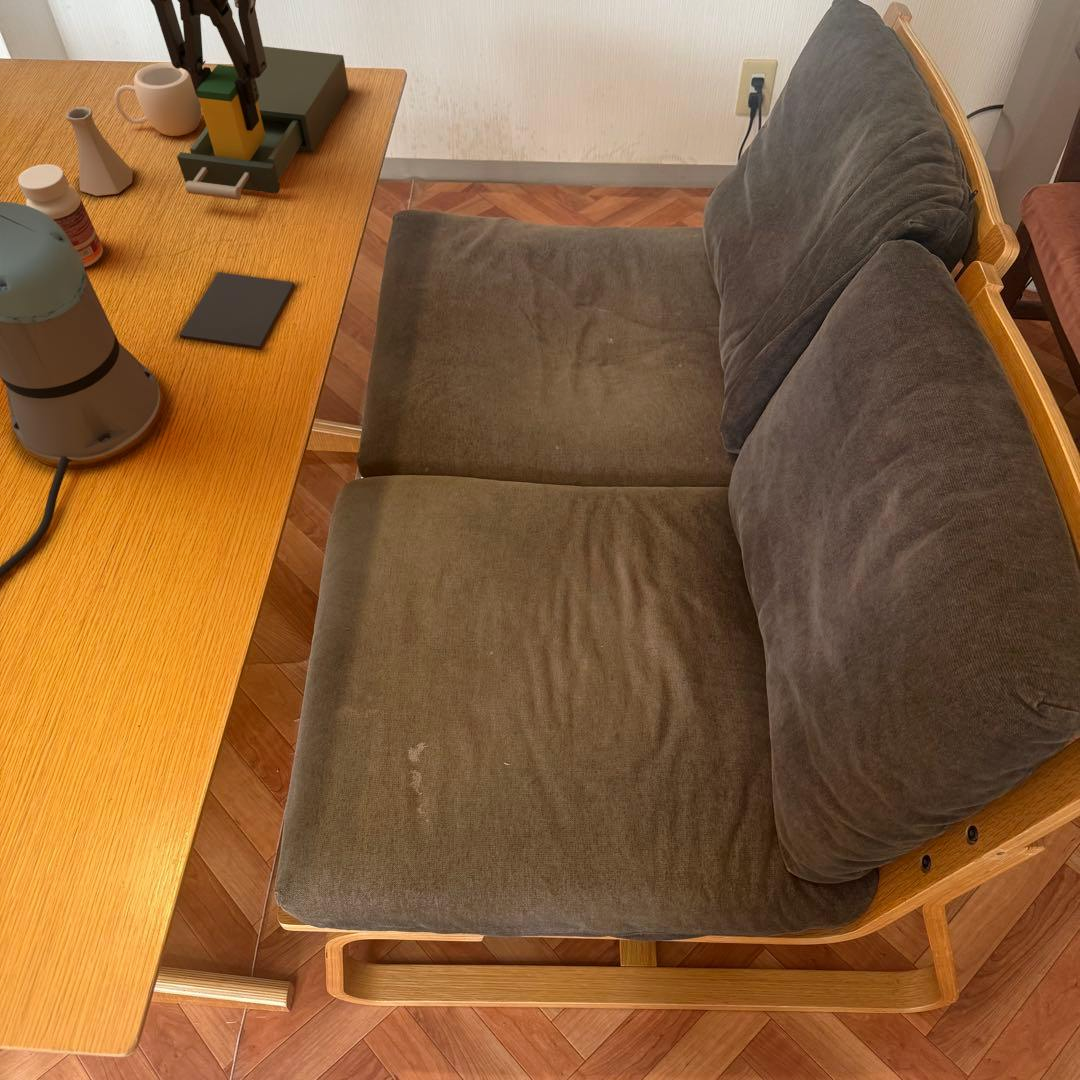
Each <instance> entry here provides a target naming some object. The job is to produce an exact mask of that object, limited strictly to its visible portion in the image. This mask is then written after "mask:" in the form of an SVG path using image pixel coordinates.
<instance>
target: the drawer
mask: <svg viewBox="0 0 1080 1080" xmlns="http://www.w3.org/2000/svg"><path fill="white" fill-rule="evenodd" d="M261 119H262V123H263V128H264V132H265V136H266V138H265V139H264V141H263V142H262V144H261V145H260V146H259V148H258V149H257V151H256V152H255V154H254V155H253V157H252V158H251V159H250V161H248V160H240V159H231V158H223V157H215V153H214V150H213V146H212V143H211V139H210V136H209V133H208V129H207V126H205V128H204V129H203V130H202V132H201V133H200V134H199V135H198V137H197V138H196V140H195V141H194V143H193V144H192V145H191V146H190V148H189V151H190V152H181V151H180V152H179V153H178V154H177V156H176V158H177V159H176V160H177V162H178V164H179V169H180V171H181V175H182V177H183V180H184V182H185V190H186V193H187V194H189V195H197V196H206V197H214V198H222V199H229V200H236V201H238V200H240V199H242V190H244V191H252V192H261V193H268V194H276V195H277V194H279V193H280V190H281V185H280V179H281V178H282V177H283V175H284V173H285V172H286V170H287V168H288V167H289V165H290V163H291V162H292V160H293V158H294V157H295V156H296V154H297V153H298V151H299V150H298V149H299V147H300V146H301V144H302V143H303V141H304V134H303V129H302V124H301V120H299V119H291V118H282V117H274V116H265V115H261Z"/></svg>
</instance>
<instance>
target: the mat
mask: <svg viewBox="0 0 1080 1080" xmlns="http://www.w3.org/2000/svg"><path fill="white" fill-rule="evenodd" d="M295 285H296V284H295V282H293V281H286V280H280V279H279V280H278V279H272V278H264V277H256V276H251V275H242V274H235V273H227V272H217V274H216V276H215V277H214V278H213V280H212V282H211V283H210V285H209V287H208V288H207V290H206V291H205V292H204V295H203V297H202V298H201V299H200V301H199V303H198V304H197V305H196V307H195V308H194V311H193V312H192V314H191V315H190V317H189V318H188V320H187V322H186V323H185V325H184V326H183V328H182V330H181V331H180V333H179V338H180V339H186V340H193V341H201V342H206V343H214V344H220V345H226V346H228V345H229V346H234V347H241V348H247V349H255V350H261V349H262V347H263V345H264V343H265V341H266V339H268V338H267V337H268V336H269V334H270V332H271V330H272V328H273V327H274V325H275V323H276V321H277V319H278V318H279V315H280V314H281V312H282V310H283V308H284V306H285V304H286V302H287V301H288V299H289V297H290V295H291V293H292V292H293V290H294V288H295Z"/></svg>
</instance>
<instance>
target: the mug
mask: <svg viewBox="0 0 1080 1080" xmlns="http://www.w3.org/2000/svg"><path fill="white" fill-rule="evenodd" d="M125 91H130V92H135V95H136V98H137V101H138V104H139V106H140V109H141V111H142V112H143V114H144V116H143V117H140V118H136V117H135V118H134V117H132V116H129V115H128V114H127V113H126V111H125V110H124V109H123V107H122V104H121V95H122V93H123V92H125ZM114 103H115V106H116V109H117V111H118V114H120V116H121V117H122V118H123V119H124V120H125V121H127V122H129V123H131V124H134V125H141V124H144V123H146V122H148V123H149V124H150V125H151V126H152V127H153V129H155V130H156V131H157V132H159V133H161V134H162V135H164V136H169V137H180V136H185V135H188V134H190V133H192V132H193V131H195V130H196V129H197V128H198V127H199V124H200V122H201V117H202V108H201V105H200V101H199V98H198V97H197V95H196V94H195V89H194V86H193V83H192V80H191V76H190V74H189V73H188V72H187V71H186V70H184V69H182V68H180V69H177V68H175V67H174V66H173V65H172V62H171V61H163V62H161V61H160V62H156V63H152V64H148V65H146V66H144V67H142V68H140V69H139V70H137V72H136V73H135V75H134V79H133V85H130V84H124V85H122V86H119V87H118V88H117V89H116V90H115V93H114Z"/></svg>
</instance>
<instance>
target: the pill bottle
mask: <svg viewBox="0 0 1080 1080" xmlns="http://www.w3.org/2000/svg"><path fill="white" fill-rule="evenodd" d="M17 182H18V185H19V187H20V189H21V191H22V194H23V195H24V197H25V198H26V200H25V205H26V206H29V207H32V208H34V209H37V210H39V211H41V212H43V213H44V214H46V215H48V216H49V217H51V218H52V219H53V220H54V221H55V222H56V223H57V224H58V225H59V226H60V227H61V228H62V229H63V231H64V232H65V233H66V235H67V237H68V238H69V240H70V241H71V243H72V244H73V246H74V248H75V249H76V250H77V252H78V253H79V255H80V256H81V258H82V261H83V264H84V268H87V267H89V266H91V265H93V264H95V263H96V262H97V261H98V260H99V259H101V257H102V256H103V251H104V248H103V244H102V242H101V240H100V238H99V235H98V234H97V232H96V230H95V227H94V224H93V222H92V220H91V219H90V216H89V214H88V211H87V210H86V209H87V208H86V207H85V205H84V203H83V200H82V197H81V196H80V194H79V192H78V191H77V190H76V189H75V188H74V187H73V186H71V185H70V182H69V181H68V178H67V176H66V174H65V172H64V171H63V169H62V168H61V167H60V166H58V165H55V164H52V163H51V164H49V163H47V164H46V163H45V164H37V165H34V166H31V167H29V168H26V169H24V170H23V171H22V172H21V173H20V174H19V176H18V177H17Z"/></svg>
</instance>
